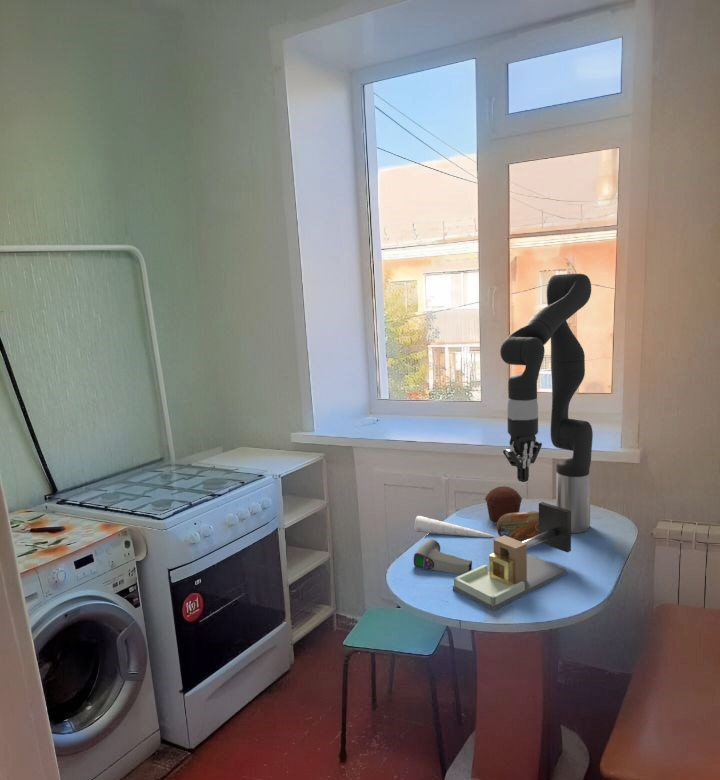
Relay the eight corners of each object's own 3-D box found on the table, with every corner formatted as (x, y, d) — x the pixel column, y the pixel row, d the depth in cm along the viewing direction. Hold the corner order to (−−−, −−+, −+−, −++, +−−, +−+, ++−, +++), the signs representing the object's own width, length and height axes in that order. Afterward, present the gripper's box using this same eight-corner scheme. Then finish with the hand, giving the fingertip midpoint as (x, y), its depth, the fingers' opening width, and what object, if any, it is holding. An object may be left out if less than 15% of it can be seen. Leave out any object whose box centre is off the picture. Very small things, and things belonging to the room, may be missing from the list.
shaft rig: (525, 556, 164) (525, 519, 162) (566, 573, 153) (567, 534, 151) (452, 589, 148) (451, 549, 146) (493, 610, 137) (492, 567, 136)
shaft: (542, 540, 164) (542, 501, 162) (570, 550, 157) (571, 510, 155) (494, 561, 153) (494, 520, 151) (523, 573, 146) (523, 530, 144)
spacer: (494, 574, 151) (494, 552, 150) (513, 583, 146) (513, 560, 146) (489, 577, 150) (489, 554, 149) (508, 586, 145) (508, 563, 144)
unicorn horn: (491, 543, 174) (491, 527, 173) (413, 533, 183) (412, 518, 182) (494, 537, 178) (494, 521, 177) (417, 528, 188) (417, 513, 187)
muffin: (498, 509, 199) (497, 480, 197) (528, 516, 191) (528, 486, 190) (478, 520, 191) (477, 490, 189) (509, 528, 183) (509, 497, 181)
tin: (498, 544, 172) (498, 516, 171) (495, 539, 176) (495, 512, 174) (550, 540, 173) (550, 513, 172) (546, 536, 176) (546, 509, 175)
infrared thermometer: (467, 580, 155) (411, 569, 160) (477, 560, 166) (425, 550, 171) (468, 564, 154) (412, 553, 159) (478, 544, 165) (425, 535, 170)
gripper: (527, 409, 159) (527, 472, 162) (493, 417, 152) (494, 483, 155) (551, 413, 153) (551, 478, 156) (517, 422, 146) (517, 490, 149)
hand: (523, 480), depth 156 cm, fingers closed
